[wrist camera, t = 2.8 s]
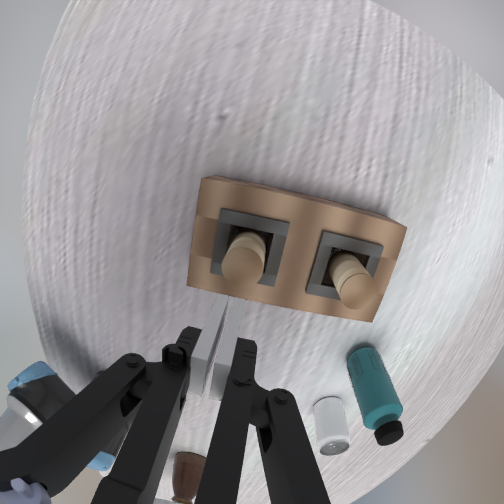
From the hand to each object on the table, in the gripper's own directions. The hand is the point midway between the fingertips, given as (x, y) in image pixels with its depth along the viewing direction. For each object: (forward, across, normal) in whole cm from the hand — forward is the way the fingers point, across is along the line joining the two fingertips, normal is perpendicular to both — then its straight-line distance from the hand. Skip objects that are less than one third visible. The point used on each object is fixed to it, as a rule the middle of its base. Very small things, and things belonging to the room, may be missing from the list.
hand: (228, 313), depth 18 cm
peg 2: (+16, +12, 0) cm, 20 cm away
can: (+23, +23, -33) cm, 46 cm away
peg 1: (+16, 0, 0) cm, 16 cm away
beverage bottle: (+23, +24, -18) cm, 38 cm away
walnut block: (+22, +6, 0) cm, 23 cm away
